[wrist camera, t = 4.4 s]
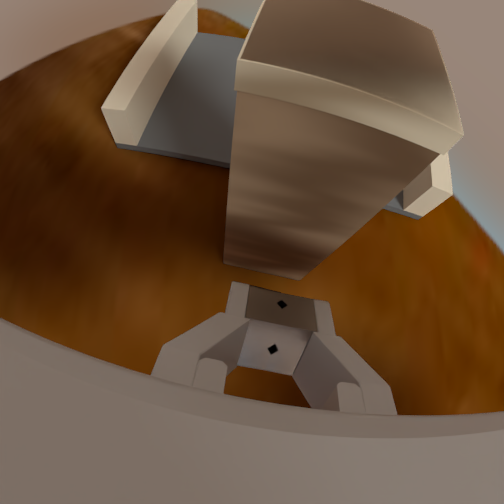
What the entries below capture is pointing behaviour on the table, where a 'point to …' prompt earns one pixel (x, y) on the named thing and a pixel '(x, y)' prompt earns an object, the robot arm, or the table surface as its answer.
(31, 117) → the table surface
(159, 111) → the rubber mat with end rails
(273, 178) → the walnut block
